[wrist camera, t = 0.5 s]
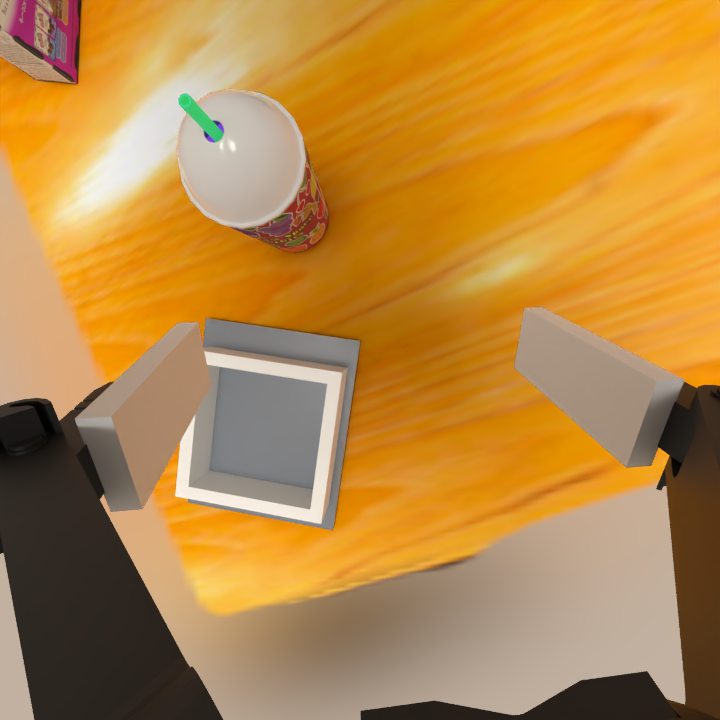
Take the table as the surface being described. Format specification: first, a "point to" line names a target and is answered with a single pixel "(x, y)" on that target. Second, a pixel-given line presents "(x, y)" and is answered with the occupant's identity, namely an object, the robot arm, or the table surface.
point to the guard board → (270, 423)
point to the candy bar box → (41, 37)
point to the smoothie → (251, 168)
